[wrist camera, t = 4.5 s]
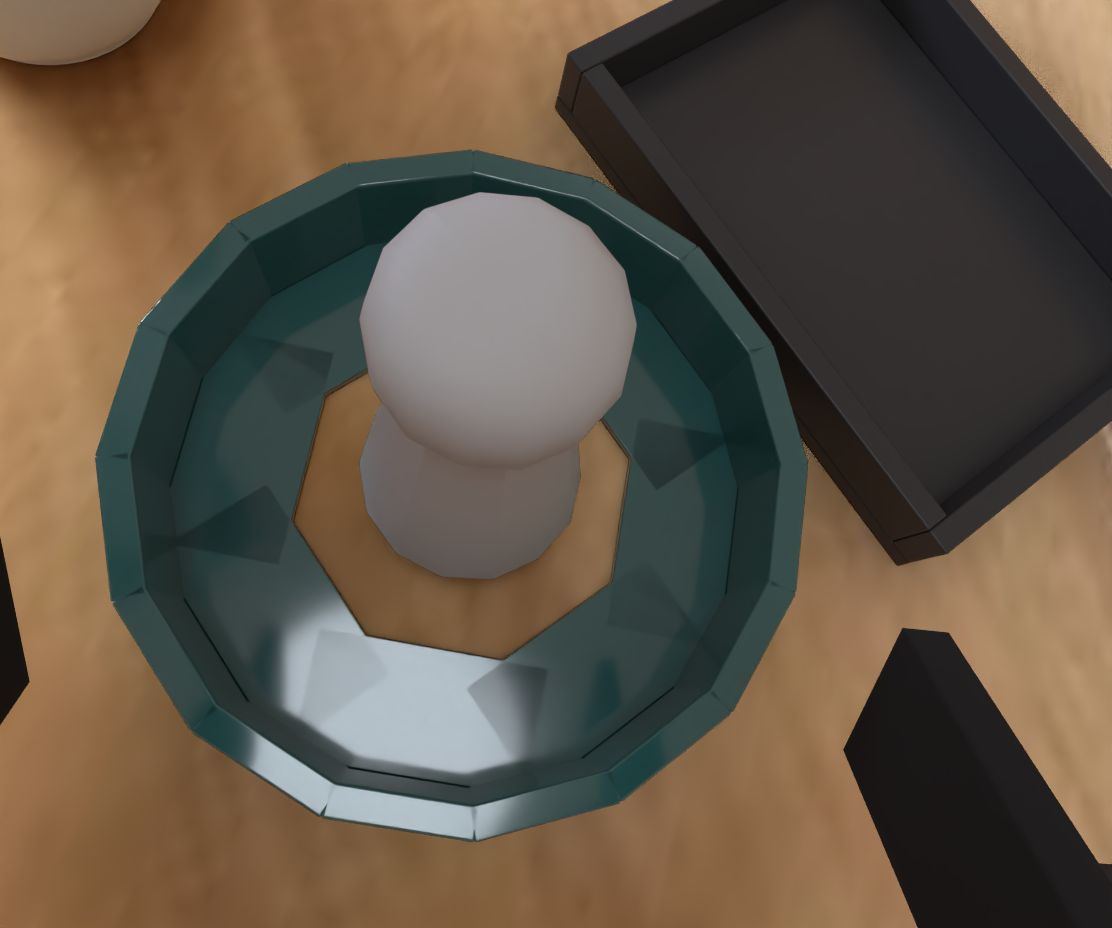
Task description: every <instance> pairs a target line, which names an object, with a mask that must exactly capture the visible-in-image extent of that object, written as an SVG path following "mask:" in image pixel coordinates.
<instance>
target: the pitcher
mask: <svg viewBox="0 0 1112 928" xmlns="http://www.w3.org/2000/svg"><path fill="white" fill-rule="evenodd" d="M160 1H161V0H0V57H2V58H6V59H9V60H13V61H17V62H22V63H28V64H36V65H62V64H71V63H77V62H82V61H86V60H89V59H93V58H96V57H99V56H101V55H104V54H106V53H108V52H111V51H112V50H114V49H116V48H118V47H119V46H121V45H123V44H124V43H126V42H127V41H128V40H130V39H131V38H132V37H134V36H135V35H136V34H137V33H138V32H139V31H140V30H141V29H142V28H143V27H144V26H145V24H146V23H147V22H148V20H149V19H150V18H151V16H152V14H153V13H154V11H155V9H156V7H157V6H158V4H159V3H160Z"/></svg>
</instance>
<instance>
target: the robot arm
mask: <svg viewBox="0 0 1112 928" xmlns="http://www.w3.org/2000/svg"><path fill="white" fill-rule="evenodd" d="M29 682H30V681H29V677H28V672H27V667H26V662H25V657H24V652H23V647H22V642H21V637H20V632H19V627H18V622H17V617H16V612H15V608H14V603H13V598H12V593H11V588H10V583H9V578H8V573H7V568H6V563H5V558H4V553H3V548H2V544H1V539H0V725H1V723H2V722H3V720H4V719H5V717H6V716H7V714H8V713H9V711H10V710H11V708H12V707H13V705H14V704H15V702H16V701H17V700H18V698H19V697H20V695H21V694H22V692H23V691H24V689H25V688H26V686H27V685H28V683H29ZM843 750H844V753H845V755H846V758H847V760H848V762H849V765H850V767H851V770H852V772H853V774H854V777H855V779H856V781H857V784H858V786H859V789H860V791H861V793H862V796H863V798H864V801H865V803H866V805H867V808H868V810H869V813H870V815H871V817H872V820H873V822H874V824H875V827H876V829H877V832H878V834H879V836H880V839H881V841H882V844H883V846H884V848H885V851H886V853H887V855H888V858H889V860H890V863H891V865H892V867H893V870H894V872H895V875H896V877H897V879H898V882H899V884H900V887H901V889H902V891H903V894H904V896H905V898H906V901H907V903H908V906H909V908H910V910H911V913H912V915H913V918H914V920H915V922H916V925H917V927H918V928H1112V864H1099V863H1098V862H1097V860H1096V859H1095V857H1094V856H1093V854H1092V853H1091V851H1090V849H1089V848H1088V846H1087V845H1086V843H1085V842H1084V840H1083V839H1082V837H1081V836H1080V834H1079V833H1078V831H1077V829H1076V828H1075V826H1074V825H1073V823H1072V822H1071V820H1070V819H1069V817H1068V816H1067V814H1066V813H1065V811H1064V809H1063V808H1062V806H1061V805H1060V803H1059V802H1058V800H1057V799H1056V797H1055V796H1054V794H1053V793H1052V791H1051V789H1050V788H1049V786H1048V785H1047V783H1046V782H1045V780H1044V779H1043V777H1042V776H1041V774H1040V773H1039V771H1038V769H1037V768H1036V766H1035V765H1034V763H1033V762H1032V760H1031V759H1030V757H1029V756H1028V754H1027V753H1026V751H1025V750H1024V748H1023V746H1022V745H1021V743H1020V742H1019V740H1018V739H1017V737H1016V736H1015V734H1014V733H1013V731H1012V730H1011V728H1010V726H1009V725H1008V723H1007V722H1006V720H1005V719H1004V717H1003V716H1002V714H1001V713H1000V711H999V710H998V708H997V706H996V705H995V703H994V702H993V700H992V699H991V697H990V696H989V694H988V693H987V691H986V690H985V688H984V686H983V685H982V683H981V682H980V680H979V679H978V677H977V676H976V674H975V673H974V671H973V670H972V668H971V666H970V665H969V663H968V662H967V660H966V659H965V657H964V656H963V654H962V653H961V651H960V650H959V648H958V646H957V645H956V643H955V642H954V640H953V639H952V637H951V636H950V634H949V633H947V632H937V631H927V630H917V629H908V628H902V630H901V632H900V634H899V636H898V638H897V640H896V642H895V644H894V647H893V649H892V651H891V653H890V655H889V657H888V659H887V661H886V663H885V665H884V667H883V669H882V671H881V673H880V675H879V677H878V679H877V681H876V683H875V686H874V688H873V690H872V692H871V694H870V696H869V698H868V700H867V702H866V704H865V706H864V708H863V710H862V712H861V714H860V716H859V718H858V720H857V723H856V725H855V727H854V729H853V731H852V733H851V735H850V737H849V739H848V741H847V743H846V745H845V747H844V749H843Z"/></svg>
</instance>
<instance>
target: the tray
mask: <svg viewBox="0 0 1112 928" xmlns="http://www.w3.org/2000/svg"><path fill="white" fill-rule="evenodd" d="M555 108H556V109H557V111H558V112H559V113H560V115H561V116H562V117H563V119H564V120H565V121H566V123H567V124H568V125H569V127H570V128H571V129H572V131H573V132H574V133H575V135H576V136H577V137H578V139H579V140H580V141H581V143H582V144H583V145H584V147H585V148H586V149H587V151H588V152H589V153H590V155H591V156H592V157H593V159H594V160H595V161H596V163H597V164H598V165H599V167H600V168H601V170H602V171H603V172H604V174H605V175H606V176H607V178H608V179H609V180H610V182H611V183H612V184H613V186H614V187H615V188H616V190H617V191H618V192H619V194H620V195H621V196H622V197H624V198H625V199H627V200H628V201H630V202H631V203H633V204H634V205H636V206H638V207H639V208H641V209H642V210H644V211H645V212H647V213H648V214H650V215H651V216H653V217H654V218H656V219H658V220H659V221H661V222H662V223H664V224H665V225H667V226H668V227H670V228H671V229H673V230H674V231H676V232H678V233H679V234H681V235H682V236H684V237H685V238H687V239H688V240H690V241H691V242H693V243H694V244H696V246H697V247H700V248H701V250H702V251H703V252H704V254H705V255H706V256H707V257H708V259H709V260H710V261H711V263H712V264H713V265H714V267H715V268H716V269H717V271H718V272H719V273H720V275H721V276H722V277H723V279H724V280H725V281H726V283H727V284H728V285H729V287H730V288H731V289H732V291H733V292H734V293H735V295H736V296H737V297H738V299H739V300H740V301H741V303H742V304H743V305H744V307H745V308H746V309H747V310H748V312H749V313H750V314H751V316H752V317H753V318H754V320H755V321H756V322H757V324H758V325H759V326H760V328H761V329H762V330H763V332H764V333H765V334H766V336H767V337H768V338H769V340H770V341H771V342H772V345H773V346H774V349H775V352H776V356H777V359H778V363H779V366H780V369H781V373H782V376H783V380H784V383H785V387H786V390H787V393H788V397H789V400H790V404H791V407H792V410H793V414H794V417H795V421H796V424H797V427H798V431H799V434H800V436H801V437H802V438H803V440H804V441H805V442H806V444H807V445H808V446H809V448H810V449H811V450H812V452H813V453H814V454H815V456H816V457H817V458H818V460H819V461H820V462H821V464H822V465H823V466H824V468H825V469H826V470H827V472H828V473H829V474H830V476H831V477H832V478H833V480H834V481H835V482H836V484H837V485H838V486H839V488H840V489H841V491H842V492H843V493H844V495H845V496H846V497H847V499H848V500H849V501H850V503H851V504H852V505H853V507H854V508H855V509H856V511H857V512H858V513H859V515H860V516H861V517H862V519H863V520H864V521H865V523H866V524H867V525H868V527H869V528H870V529H871V531H872V532H873V533H874V535H875V536H876V537H877V539H878V540H879V541H880V543H881V544H882V545H883V547H884V548H885V549H886V551H887V552H888V553H889V555H890V556H891V557H892V559H893V560H894V561H895V563H896V564H897V565H898V566H899V565H903V564H907V563H910V562H915V561H919V560H923V559H927V558H932V557H936V556H940V555H944V554H948V553H949V552H950V551H952V550H953V549H954V548H955V547H956V546H958V545H959V544H960V543H961V542H963V541H964V540H965V539H966V538H968V537H969V536H970V535H971V534H973V533H974V532H975V531H976V530H977V529H979V528H980V527H981V526H982V525H984V524H985V523H986V522H987V521H989V520H990V519H991V518H992V517H994V516H995V515H996V514H997V513H998V512H1000V511H1001V510H1002V509H1003V508H1005V507H1006V506H1007V505H1008V504H1010V503H1011V502H1012V501H1013V500H1015V499H1016V498H1017V497H1018V496H1019V495H1021V494H1022V493H1023V492H1024V491H1026V490H1027V489H1028V488H1029V487H1031V486H1032V485H1033V484H1034V483H1035V482H1037V481H1038V480H1039V479H1040V478H1042V477H1043V476H1044V475H1045V474H1047V473H1048V472H1049V471H1050V470H1052V469H1053V468H1054V467H1055V466H1056V465H1058V464H1059V463H1060V462H1061V461H1063V460H1064V459H1065V458H1066V457H1068V456H1069V455H1070V454H1071V453H1073V452H1074V451H1075V450H1076V449H1077V448H1079V447H1080V446H1081V445H1082V444H1084V443H1085V442H1086V441H1087V440H1089V439H1090V438H1091V437H1092V436H1094V435H1095V434H1096V433H1097V432H1098V431H1100V430H1101V429H1102V428H1103V427H1105V426H1106V425H1107V424H1108V423H1110V422H1111V421H1112V169H1111V168H1110V166H1109V165H1108V164H1107V163H1106V162H1105V160H1104V159H1103V158H1102V157H1101V156H1100V154H1099V153H1098V152H1097V151H1096V150H1095V148H1094V147H1093V146H1092V145H1091V144H1090V143H1089V141H1088V140H1087V139H1086V138H1085V137H1084V135H1083V134H1082V133H1081V132H1080V131H1079V129H1078V128H1077V127H1076V126H1075V125H1074V123H1073V122H1072V121H1071V120H1070V119H1069V118H1068V116H1067V115H1066V114H1065V113H1064V112H1063V110H1062V109H1061V108H1060V107H1059V106H1058V104H1057V103H1056V102H1055V101H1054V100H1053V98H1052V97H1051V96H1050V95H1049V94H1048V93H1047V91H1046V90H1045V89H1044V88H1043V87H1042V85H1041V84H1040V83H1039V82H1038V81H1037V79H1036V78H1035V77H1034V76H1033V75H1032V73H1031V72H1030V71H1029V70H1028V69H1027V68H1026V66H1025V65H1024V64H1023V63H1022V62H1021V60H1020V59H1019V58H1018V57H1017V56H1016V54H1015V53H1014V52H1013V51H1012V50H1011V48H1010V47H1009V46H1008V45H1007V44H1006V42H1005V41H1004V40H1003V39H1002V38H1001V37H1000V35H999V34H998V33H997V32H996V31H995V29H994V28H993V27H992V26H991V25H990V23H989V22H988V21H987V20H986V19H985V17H984V16H983V15H982V14H981V13H980V12H979V10H978V9H977V8H976V7H975V6H974V4H973V3H972V2H971V1H970V0H672V1H670V2H668V3H666V4H664V5H662V6H660V7H659V8H657V9H655V10H653V11H651V12H649V13H647V14H645V15H643V16H641V17H639V18H637V19H635V20H633V21H631V22H629V23H627V24H625V25H623V26H621V27H619V28H617V29H615V30H613V31H611V32H609V33H607V34H605V35H603V36H601V37H599V38H597V39H595V40H593V41H591V42H589V43H587V44H585V45H583V46H581V47H579V48H577V49H575V50H573V51H571V52H569V53H568V54H567V58H566V63H565V67H564V72H563V76H562V81H561V85H560V89H559V96H558V97H557V101H556V105H555Z"/></svg>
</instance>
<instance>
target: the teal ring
mask: <svg viewBox="0 0 1112 928" xmlns="http://www.w3.org/2000/svg"><path fill="white" fill-rule="evenodd" d="M479 192H482V193H493V194H504V195H515V196H525V197H536V198H539V199H541V200H543V201H545V202H547V203H548V204H550V205H552V206H554V207H555V208H557V209H559V210H561V211H563V212H564V213H566V214H568V215H570V216H572V217H573V218H575V219H577V220H579V221H581V222H582V223H584V224H586V225H588V226H589V227H590V228H591V229H592V231H593V232H594V233H595V234H596V236H597V237H598V238H599V239H600V241H601V242H602V243H603V244H604V246H605V247H606V248H607V249H608V250H609V252H610V253H611V254H612V255H613V257H614V258H615V259H616V260H617V262H618V263H619V264H620V265H621V267H622V268H623V269H624V270H625V274H626V279H627V283H628V288H629V292H630V297H631V301H632V306H633V310H634V315H635V319H636V324H637V326H636V332H635V338H634V343H633V347H632V352H631V356H630V360H629V365H628V369H627V373H626V378H625V382H624V386H623V391H622V395H621V397H620V398H619V399H618V400H617V401H616V402H615V404H614V405H613V406H612V407H611V408H610V409H609V410H608V411H607V412H606V414H605V415H604V416H603V417H602V418H601V420H602V422H603V423H604V425H605V426H606V427H607V429H608V430H609V432H610V433H611V434H612V436H613V437H614V439H615V440H616V441H617V443H618V444H619V446H620V447H621V448H622V450H623V451H624V453H625V454H626V455H627V457H628V458H629V464H628V470H627V477H626V483H625V490H624V497H623V503H622V510H621V516H620V523H619V529H618V536H617V542H616V549H615V555H614V562H613V569H612V575H611V582H610V584H608V585H607V586H605V587H604V588H603V589H601V590H600V591H598V592H597V593H596V594H594V595H593V596H591V597H590V598H589V599H587V600H586V601H584V602H583V603H582V604H580V605H579V606H577V607H576V608H575V609H573V610H572V611H570V612H569V613H568V614H566V615H565V616H564V617H562V618H561V619H559V620H558V621H557V622H555V623H554V624H552V625H551V626H550V627H548V628H547V629H545V630H544V631H543V632H541V633H540V634H538V635H537V636H536V637H534V638H533V639H531V640H530V641H529V642H527V643H526V644H524V645H523V646H522V647H520V648H519V649H517V650H516V651H515V652H513V653H512V654H510V655H509V656H508V657H506V658H505V659H503V660H500V659H495V658H489V657H484V656H478V655H473V654H467V653H462V652H456V651H451V650H445V649H439V648H434V647H428V646H423V645H417V644H412V643H406V642H401V641H395V640H390V639H384V638H378V637H373V636H367V635H366V634H365V632H364V631H363V629H362V627H361V626H360V624H359V623H358V621H357V620H356V618H355V617H354V615H353V614H352V612H351V611H350V609H349V607H348V606H347V604H346V603H345V601H344V600H343V598H342V597H341V595H340V594H339V592H338V591H337V589H336V587H335V586H334V584H333V583H332V581H331V580H330V578H329V577H328V575H327V574H326V572H325V571H324V569H323V567H322V566H321V564H320V563H319V561H318V560H317V558H316V557H315V555H314V554H313V552H312V551H311V549H310V548H309V546H308V544H307V543H306V541H305V540H304V538H303V537H302V535H301V534H300V532H299V531H298V529H297V528H296V526H295V524H294V523H293V520H294V516H295V512H296V509H297V505H298V501H299V497H300V493H301V489H302V485H303V482H304V478H305V474H306V470H307V466H308V462H309V458H310V454H311V451H312V447H313V443H314V439H315V435H316V431H317V427H318V424H319V420H320V416H321V412H322V408H323V404H324V400H325V397H326V396H327V395H328V394H330V393H332V392H334V391H335V390H337V389H339V388H341V387H342V386H344V385H346V384H347V383H349V382H351V381H353V380H354V379H356V378H358V377H360V376H361V375H363V374H365V373H366V372H368V367H367V361H366V355H365V349H364V343H363V338H362V332H361V326H360V320H359V318H360V314H361V310H362V306H363V303H364V300H365V297H366V294H367V291H368V289H369V286H370V283H371V280H372V278H373V275H374V272H375V269H376V266H377V264H378V261H379V258H380V255H381V253H382V250H383V248H384V247H385V246H386V245H387V244H388V243H389V242H390V241H391V240H392V239H393V238H394V237H395V236H396V235H397V234H399V233H400V232H401V231H402V230H403V229H404V228H405V227H406V226H407V225H408V224H409V223H410V222H411V221H412V220H413V219H414V218H415V217H416V216H417V215H418V214H419V213H420V212H421V211H423V210H424V209H426V208H429V207H432V206H436V205H439V204H442V203H446V202H449V201H452V200H456V199H459V198H462V197H465V196H469V195H472V194H475V193H479ZM95 462H96V471H97V480H98V489H99V498H100V507H101V516H102V526H103V535H104V544H105V553H106V562H107V571H108V580H109V589H110V598H111V601H113V606H114V608H115V609H116V611H117V612H118V614H119V616H120V617H121V619H122V621H123V622H124V624H125V626H126V627H127V629H128V630H129V632H130V634H131V635H132V637H133V639H134V640H135V642H136V644H137V645H138V647H139V648H140V650H141V652H142V653H143V655H144V657H145V658H146V660H147V662H148V663H149V665H150V666H151V668H152V670H153V671H154V673H155V675H156V676H157V678H158V680H159V681H160V683H161V684H162V686H163V688H164V689H165V691H166V693H167V694H168V696H169V698H170V699H171V701H172V702H173V704H174V706H175V707H176V709H177V711H178V712H179V714H180V716H181V717H182V719H183V720H184V722H185V724H186V725H187V727H188V729H189V730H191V731H192V733H193V734H194V735H196V736H197V737H199V738H200V739H202V740H203V741H205V742H206V743H208V744H209V745H211V746H212V747H214V748H215V749H217V750H218V751H220V752H221V753H223V754H224V755H226V756H227V757H229V758H230V759H232V760H233V761H235V762H236V763H238V764H240V765H241V766H243V767H244V768H246V769H247V770H249V771H250V772H252V773H253V774H255V775H256V776H258V777H259V778H261V779H262V780H264V781H265V782H267V783H268V784H270V785H271V786H273V787H274V788H276V789H277V790H279V791H280V792H282V793H283V794H285V795H286V796H288V797H289V798H291V799H292V800H294V801H295V802H297V803H298V804H300V805H301V806H303V807H304V808H306V809H307V810H309V811H310V812H312V813H313V814H315V815H316V816H318V817H321V816H322V818H324V819H329V820H335V821H341V822H348V823H354V824H360V825H367V826H373V827H379V828H386V829H392V830H398V831H405V832H411V833H417V834H424V835H430V836H436V837H443V838H449V839H455V840H462V841H468V842H473V841H475V842H479V841H483V840H486V839H490V838H494V837H498V836H501V835H505V834H509V833H512V832H516V831H520V830H524V829H527V828H531V827H535V826H538V825H542V824H546V823H550V822H553V821H557V820H561V819H564V818H568V817H572V816H575V815H579V814H583V813H587V812H590V811H594V810H598V809H601V808H605V807H609V806H613V805H616V804H619V803H620V801H624V800H625V799H626V798H627V797H629V796H630V795H631V794H632V793H634V792H635V791H636V790H637V789H639V788H640V787H641V786H642V785H644V784H645V783H646V782H647V781H649V780H650V779H651V778H652V777H653V776H655V775H656V774H657V773H658V772H660V771H661V770H662V769H663V768H665V767H666V766H667V765H668V764H670V763H671V762H672V761H673V760H675V759H676V758H677V757H678V756H680V755H681V754H682V753H683V752H685V751H686V750H687V749H688V748H690V747H691V746H692V745H693V744H695V743H696V742H697V741H698V740H700V739H701V738H702V737H703V736H704V735H706V734H707V733H708V732H709V731H711V730H712V729H713V728H714V727H716V726H717V725H718V724H719V723H721V722H722V721H723V720H724V719H726V718H727V717H728V716H729V715H730V714H731V712H733V711H734V709H735V707H736V706H737V704H738V702H739V700H740V698H741V696H742V694H743V692H744V690H745V689H746V687H747V685H748V683H749V681H750V679H751V677H752V675H753V674H754V672H755V670H756V668H757V666H758V664H759V662H760V660H761V658H762V657H763V655H764V653H765V651H766V649H767V647H768V645H769V643H770V641H771V640H772V638H773V636H774V634H775V632H776V630H777V628H778V626H779V624H780V623H781V621H782V619H783V617H784V615H785V613H786V611H787V609H788V608H789V606H790V604H791V602H792V600H793V598H794V596H795V592H796V588H797V577H798V567H799V556H800V545H801V535H802V524H803V513H804V503H805V492H806V481H807V470H808V465H807V464H808V461H807V458H806V455H805V451H804V448H803V444H802V441H801V438H800V434H799V431H798V427H797V424H796V421H795V417H794V414H793V410H792V407H791V404H790V400H789V397H788V393H787V390H786V387H785V383H784V380H783V376H782V373H781V369H780V366H779V363H778V359H777V356H776V352H775V349H774V346H773V345H772V342H771V341H770V340H769V338H768V337H767V336H766V334H765V333H764V332H763V330H762V329H761V328H760V326H759V325H758V324H757V322H756V321H755V320H754V318H753V317H752V316H751V314H750V313H749V312H748V310H747V309H746V308H745V307H744V305H743V304H742V303H741V301H740V300H739V299H738V297H737V296H736V295H735V293H734V292H733V291H732V289H731V288H730V287H729V285H728V284H727V283H726V281H725V280H724V279H723V277H722V276H721V275H720V273H719V272H718V271H717V269H716V268H715V267H714V265H713V264H712V263H711V261H710V260H709V259H708V257H707V256H706V255H705V254H704V252H703V251H702V250H701V248H700V247H697V246H696V244H694V243H693V242H691V241H690V240H688V239H687V238H685V237H684V236H682V235H681V234H679V233H678V232H676V231H674V230H673V229H671V228H670V227H668V226H667V225H665V224H664V223H662V222H661V221H659V220H658V219H656V218H654V217H653V216H651V215H650V214H648V213H647V212H645V211H644V210H642V209H641V208H639V207H638V206H636V205H634V204H633V203H631V202H630V201H628V200H627V199H625V198H624V197H622V196H621V195H619V194H618V193H616V192H615V191H613V190H611V189H610V188H608V187H607V186H605V185H604V184H602V183H601V182H599V181H598V180H595V181H594V179H593V178H590V177H586V176H582V175H578V174H574V173H570V172H565V171H561V170H557V169H553V168H549V167H545V166H540V165H536V164H532V163H528V162H524V161H520V160H515V159H511V158H507V157H503V156H499V155H495V154H490V153H486V152H482V151H478V150H474V151H472V150H463V151H454V152H444V153H435V154H426V155H417V156H408V157H399V158H389V159H380V160H371V161H362V162H353V163H348V164H346V163H345V164H342V165H340V166H338V167H336V168H334V169H332V170H330V171H328V172H326V173H324V174H322V175H321V176H319V177H317V178H315V179H313V180H311V181H309V182H307V183H305V184H303V185H301V186H299V187H297V188H295V189H293V190H291V191H289V192H287V193H285V194H283V195H281V196H279V197H277V198H275V199H273V200H271V201H269V202H267V203H265V204H263V205H261V206H259V207H257V208H255V209H253V210H251V211H249V212H247V213H245V214H243V215H241V216H239V217H237V218H235V219H233V220H231V221H230V223H227V224H226V225H225V227H224V228H223V229H222V230H221V231H220V232H219V233H218V234H217V236H216V237H215V238H214V239H213V240H212V241H211V242H210V244H209V245H208V246H207V247H206V248H205V249H204V250H203V251H202V253H201V254H200V255H199V256H198V257H197V258H196V259H195V260H194V262H193V263H192V264H191V265H190V266H189V267H188V268H187V269H186V271H185V272H184V273H183V274H182V275H181V276H180V277H179V278H178V280H177V281H176V282H175V283H174V284H173V285H172V286H171V288H170V289H169V290H168V291H167V292H166V293H165V294H164V295H163V297H162V298H161V299H160V300H159V301H158V302H157V303H156V304H155V306H154V307H153V308H152V309H151V310H150V311H149V312H148V313H147V315H146V316H145V317H144V318H143V319H142V320H141V322H140V324H139V325H138V327H137V331H136V334H135V337H134V340H133V343H132V346H131V349H130V352H129V355H128V358H127V361H126V364H125V367H124V370H123V373H122V376H121V379H120V382H119V385H118V388H117V391H116V394H115V397H114V400H113V403H112V406H111V409H110V412H109V415H108V418H107V421H106V424H105V427H104V430H103V434H102V437H101V440H100V443H99V446H98V449H97V452H96V457H95Z"/></svg>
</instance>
